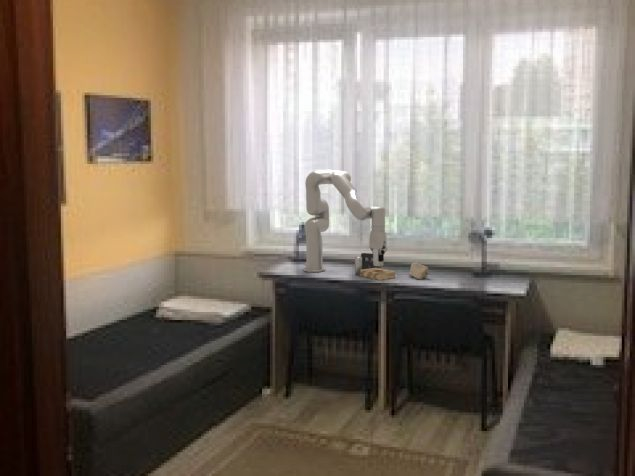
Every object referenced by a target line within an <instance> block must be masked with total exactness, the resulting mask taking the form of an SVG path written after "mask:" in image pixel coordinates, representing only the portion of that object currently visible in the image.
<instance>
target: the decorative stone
mask: <svg viewBox="0 0 635 476" xmlns="http://www.w3.org/2000/svg"><path fill="white" fill-rule="evenodd" d="M429 273H430V272H429V267H428V266H426V265H424V264H421V263H418V262H413V263H412V264H411V265H410V270H409V273H408V276H409V277H413V278H415V279H418V280H422V279H427V277H428V275H429Z"/></svg>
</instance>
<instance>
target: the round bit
mask: <svg viewBox="0 0 635 476" xmlns="http://www.w3.org/2000/svg"><path fill="white" fill-rule="evenodd" d="M361 270H362V257H361V256H355V257H354V272H355V273H354V274H355V276H356V275H358V276H360V272H361Z"/></svg>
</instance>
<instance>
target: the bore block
mask: <svg viewBox="0 0 635 476" xmlns="http://www.w3.org/2000/svg"><path fill="white" fill-rule="evenodd" d="M359 276H360V277H364V278H369V279H374V280H376V279H378V281H384V280H390V279H395V278H396V271H394V270H389V269H385V268H370V269H364V270H361V272H360V275H359ZM389 278H390V279H389ZM383 279H384V280H383Z"/></svg>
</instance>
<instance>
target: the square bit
mask: <svg viewBox="0 0 635 476" xmlns="http://www.w3.org/2000/svg"><path fill="white" fill-rule="evenodd" d="M381 252H382V250H381ZM379 255H380V253H379V249H373V265H374V266H381V267H383V266H384V261H382V262H379Z"/></svg>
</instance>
